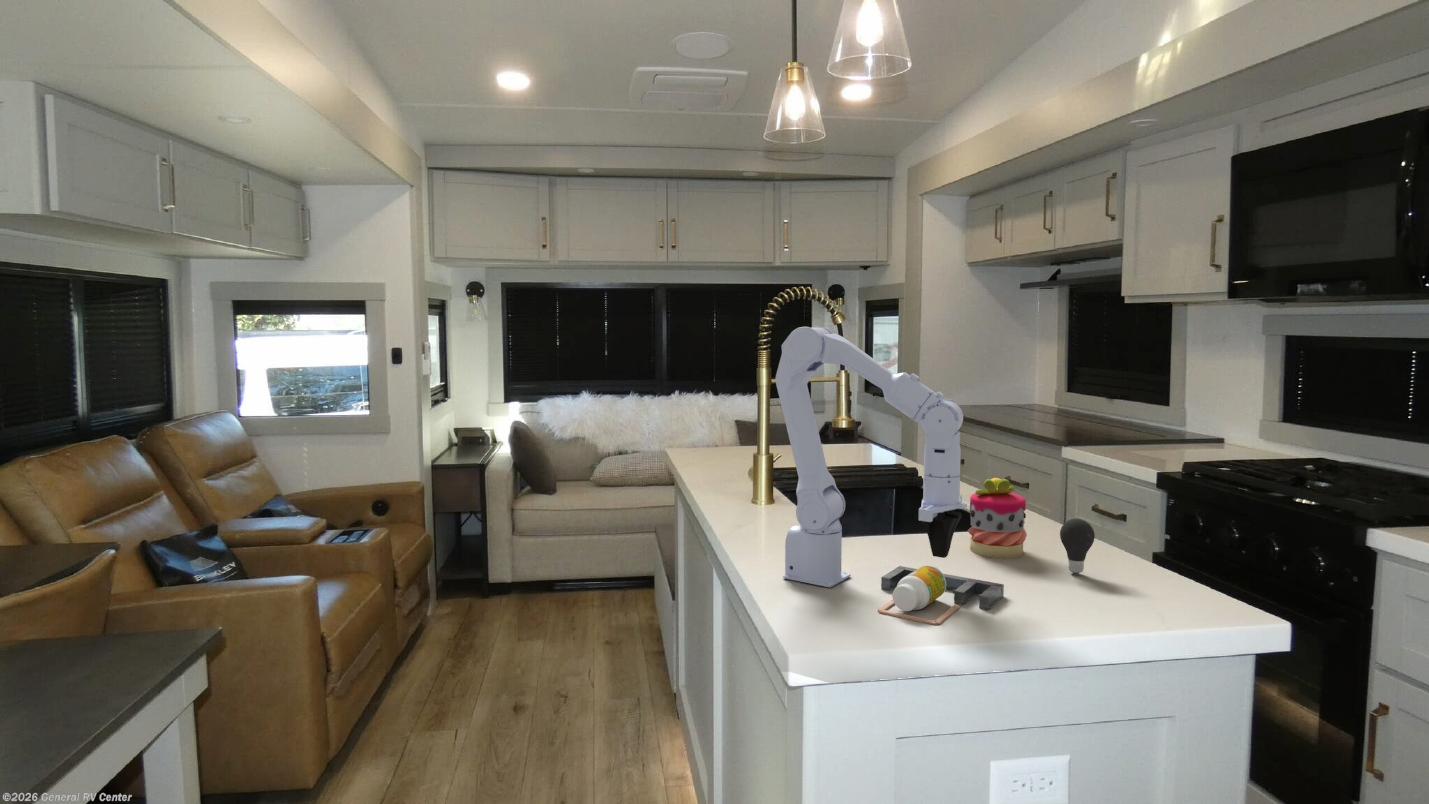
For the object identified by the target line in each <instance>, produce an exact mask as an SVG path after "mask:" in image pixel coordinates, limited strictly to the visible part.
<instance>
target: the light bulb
mask: <svg viewBox="0 0 1429 804" xmlns="http://www.w3.org/2000/svg"><path fill="white" fill-rule="evenodd" d="M1059 536H1060V537H1059V538H1060V541H1061V543H1062V545H1063V546H1064V548H1065V551H1066V556H1067V559H1068V567H1067V568H1068V571H1070V572H1071V573H1072V574H1073V575H1075V576H1078V575H1080V574H1081V573H1083V572H1084V568H1085V561H1086V558H1087V554H1088V552H1089V550H1090V549H1091V547H1092V546H1093V544H1094V543H1095V539H1096V538H1095V537H1096V535H1095V531H1094V528H1093V526H1092V525H1091V524H1090V523H1089V522H1088V521H1086V520H1084V519H1081V518H1071V519H1069V520H1067V521H1065V522H1064V523H1063V524H1062V525H1061V528H1060V530H1059Z"/></svg>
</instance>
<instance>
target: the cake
mask: <svg viewBox="0 0 1429 804" xmlns="http://www.w3.org/2000/svg"><path fill="white" fill-rule="evenodd" d="M983 486H984V488H985V489H977V490H975V492H974V493H973V494H971V495H970V499H969V513H970V514H969V518H970V526H971V527H969V529H968V530H967V532H968V534H969V535H971V536H970V543H969V544H970V545H969V548H970V549H969V550H970V552H971V553H973V554H975V555H979V556H982V557H987V558H991V559H992V558H994V559H1014V558H1020V557H1021V556H1023V555H1024V542H1025V541H1026V538H1027V536H1028V534H1027V531H1026V530H1025V523H1026V522H1025V519H1026V517H1027V514H1026V512H1025V511H1026V508H1027V507H1026V506H1027V504H1026V503H1027V502H1026V499H1025V497H1023V495H1020V494H1017V493H1014V491H1015V487H1014V486H1013V485H1011V482H1010V481H1009V480H1008V479H1006V478H1004V479H1001V478H998V477H993V478H990V479H985V481H983Z"/></svg>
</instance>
